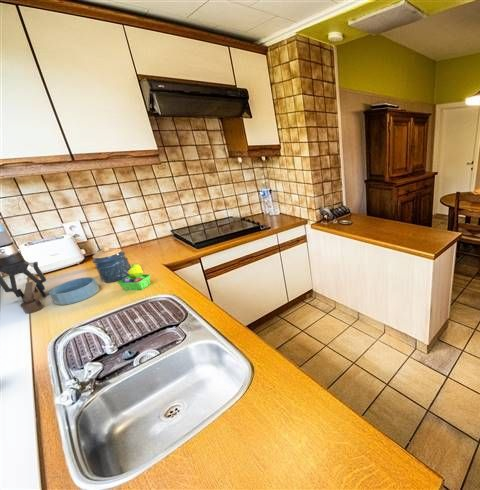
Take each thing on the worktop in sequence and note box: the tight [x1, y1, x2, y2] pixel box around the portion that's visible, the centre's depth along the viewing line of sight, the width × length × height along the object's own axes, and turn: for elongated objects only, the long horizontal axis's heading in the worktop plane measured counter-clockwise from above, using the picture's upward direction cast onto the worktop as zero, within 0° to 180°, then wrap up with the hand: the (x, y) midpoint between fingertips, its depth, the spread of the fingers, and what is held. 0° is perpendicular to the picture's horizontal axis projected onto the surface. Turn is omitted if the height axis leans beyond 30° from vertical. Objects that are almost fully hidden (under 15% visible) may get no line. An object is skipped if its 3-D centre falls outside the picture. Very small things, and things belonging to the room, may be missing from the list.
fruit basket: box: [116, 263, 151, 291], centre depth 130 cm, size 11×9×11 cm
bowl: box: [48, 276, 100, 306], centre depth 126 cm, size 15×15×6 cm
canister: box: [91, 246, 132, 283], centre depth 140 cm, size 13×13×18 cm
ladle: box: [19, 280, 45, 315], centre depth 123 cm, size 24×6×6 cm, turn 48°
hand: (35, 298), depth 126 cm, fingers open, 5 cm apart
